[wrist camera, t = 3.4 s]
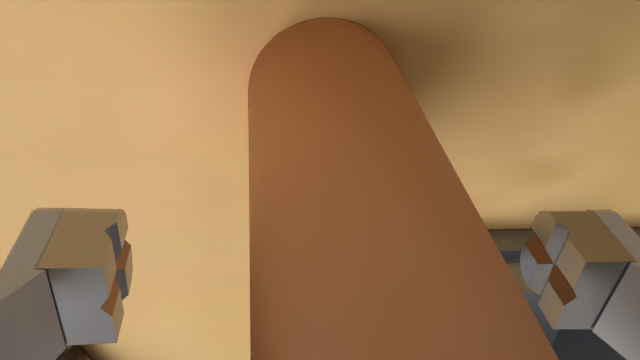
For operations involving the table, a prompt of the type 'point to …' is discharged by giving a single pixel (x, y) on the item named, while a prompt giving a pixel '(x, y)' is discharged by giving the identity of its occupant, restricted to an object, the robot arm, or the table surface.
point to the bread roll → (73, 353)
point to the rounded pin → (365, 217)
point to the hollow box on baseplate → (569, 344)
